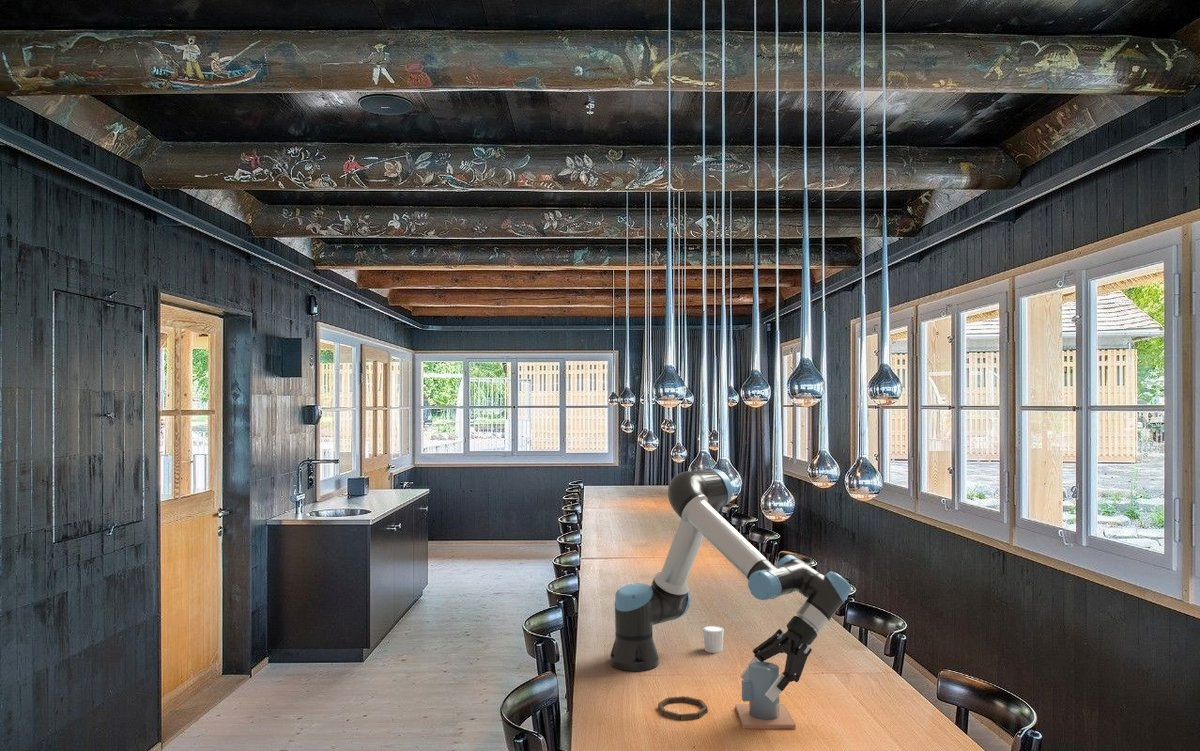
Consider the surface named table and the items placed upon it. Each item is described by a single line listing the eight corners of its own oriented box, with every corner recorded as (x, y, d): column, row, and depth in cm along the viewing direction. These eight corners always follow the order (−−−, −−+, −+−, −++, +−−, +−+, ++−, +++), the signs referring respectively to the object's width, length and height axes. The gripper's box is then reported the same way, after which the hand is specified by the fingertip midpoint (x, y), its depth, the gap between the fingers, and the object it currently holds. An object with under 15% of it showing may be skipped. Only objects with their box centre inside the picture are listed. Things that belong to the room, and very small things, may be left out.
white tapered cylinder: (710, 645, 260) (709, 624, 260) (728, 649, 255) (727, 627, 255) (699, 650, 254) (698, 629, 254) (717, 654, 250) (717, 632, 250)
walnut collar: (673, 697, 214) (673, 693, 214) (713, 707, 207) (713, 702, 207) (651, 712, 204) (651, 708, 204) (692, 723, 197) (692, 718, 197)
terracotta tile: (735, 707, 207) (735, 704, 207) (784, 707, 207) (784, 704, 207) (743, 728, 194) (743, 724, 194) (795, 728, 194) (795, 724, 194)
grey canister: (770, 706, 205) (769, 660, 206) (785, 717, 198) (784, 670, 198) (736, 711, 202) (735, 664, 203) (750, 722, 195) (749, 674, 195)
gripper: (843, 647, 193) (790, 716, 189) (791, 620, 217) (743, 681, 212) (824, 628, 192) (770, 697, 187) (773, 603, 216) (725, 663, 211)
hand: (755, 688), depth 200 cm, fingers open, 13 cm apart
